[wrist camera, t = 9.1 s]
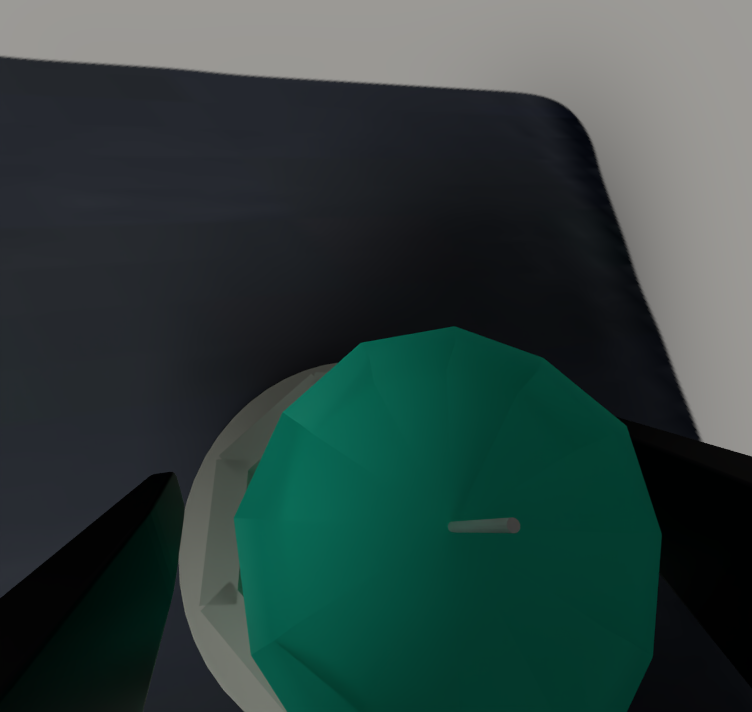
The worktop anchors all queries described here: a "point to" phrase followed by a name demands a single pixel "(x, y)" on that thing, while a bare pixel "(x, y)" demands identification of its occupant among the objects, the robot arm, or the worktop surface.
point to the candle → (449, 538)
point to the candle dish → (230, 544)
